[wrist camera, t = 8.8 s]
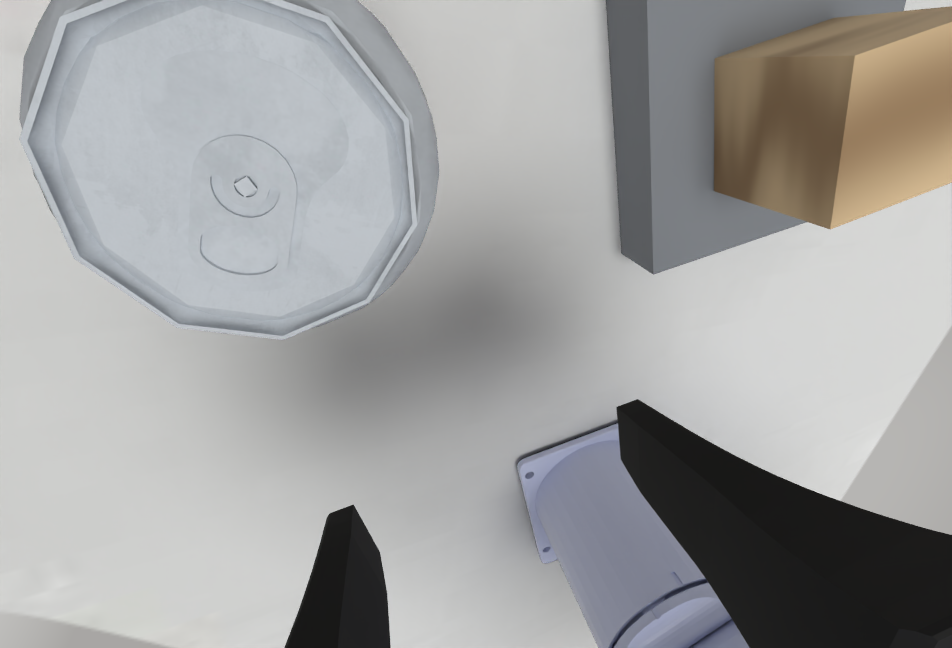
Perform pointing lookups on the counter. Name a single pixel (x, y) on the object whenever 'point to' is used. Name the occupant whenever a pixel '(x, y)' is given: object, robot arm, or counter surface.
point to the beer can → (231, 155)
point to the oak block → (837, 116)
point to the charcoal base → (689, 118)
